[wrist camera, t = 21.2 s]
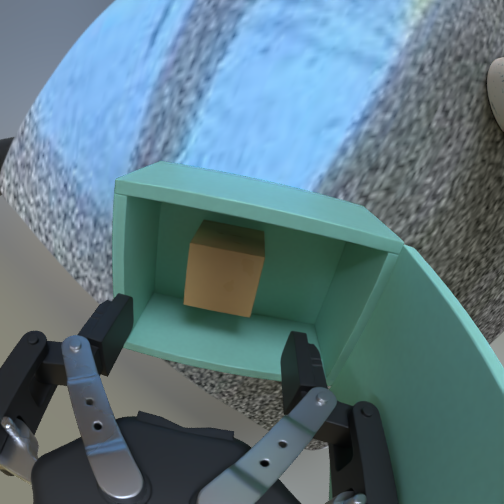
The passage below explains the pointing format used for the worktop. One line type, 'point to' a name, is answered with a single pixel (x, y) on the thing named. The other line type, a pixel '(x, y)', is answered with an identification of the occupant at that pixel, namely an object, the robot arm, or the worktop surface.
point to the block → (224, 268)
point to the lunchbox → (272, 277)
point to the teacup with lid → (496, 90)
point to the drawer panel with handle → (430, 390)
